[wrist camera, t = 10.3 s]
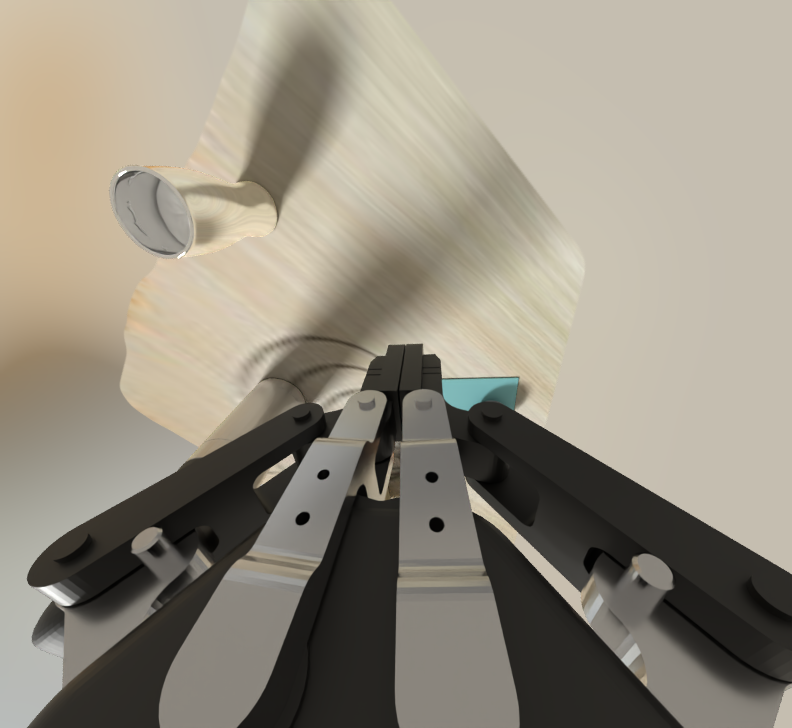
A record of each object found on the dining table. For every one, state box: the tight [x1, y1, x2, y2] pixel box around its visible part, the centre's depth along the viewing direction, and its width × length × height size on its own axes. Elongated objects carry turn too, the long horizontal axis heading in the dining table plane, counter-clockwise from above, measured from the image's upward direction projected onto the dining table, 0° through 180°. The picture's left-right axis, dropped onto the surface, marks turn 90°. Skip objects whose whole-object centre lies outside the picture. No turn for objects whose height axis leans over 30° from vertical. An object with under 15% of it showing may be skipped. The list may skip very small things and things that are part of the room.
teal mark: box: [442, 377, 519, 411], centre depth 47 cm, size 14×14×1 cm
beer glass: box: [109, 165, 277, 259], centre depth 29 cm, size 7×7×15 cm
